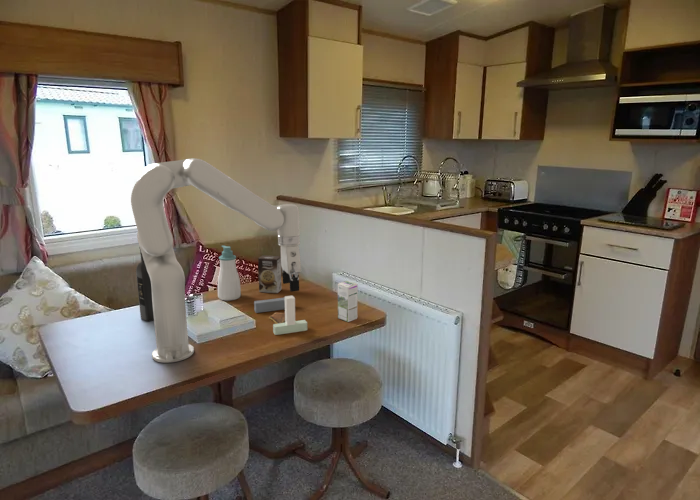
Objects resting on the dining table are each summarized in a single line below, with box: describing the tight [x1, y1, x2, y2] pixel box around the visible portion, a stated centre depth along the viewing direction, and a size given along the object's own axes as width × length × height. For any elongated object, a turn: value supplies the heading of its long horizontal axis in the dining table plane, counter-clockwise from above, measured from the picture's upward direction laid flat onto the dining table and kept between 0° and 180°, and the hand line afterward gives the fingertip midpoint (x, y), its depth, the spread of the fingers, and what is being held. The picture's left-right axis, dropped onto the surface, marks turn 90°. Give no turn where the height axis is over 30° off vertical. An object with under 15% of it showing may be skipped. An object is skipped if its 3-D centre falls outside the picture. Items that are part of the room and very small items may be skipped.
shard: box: [268, 311, 285, 324], centre depth 175 cm, size 11×8×2 cm
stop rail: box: [253, 297, 285, 314], centre depth 186 cm, size 3×16×4 cm, turn 113°
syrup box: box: [337, 280, 359, 323], centre depth 176 cm, size 6×6×14 cm
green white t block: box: [272, 295, 308, 336], centre depth 164 cm, size 12×3×13 cm, turn 113°
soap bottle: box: [217, 245, 242, 301], centre depth 198 cm, size 10×10×23 cm
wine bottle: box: [135, 246, 154, 322], centre depth 172 cm, size 6×6×30 cm
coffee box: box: [257, 254, 282, 294], centre depth 208 cm, size 9×6×16 cm
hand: (290, 286), depth 162 cm, fingers open, 9 cm apart
